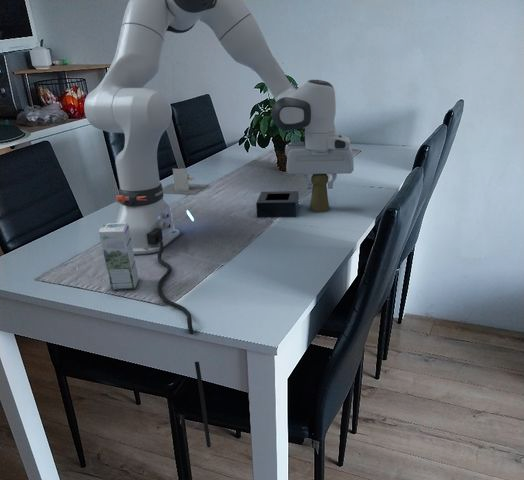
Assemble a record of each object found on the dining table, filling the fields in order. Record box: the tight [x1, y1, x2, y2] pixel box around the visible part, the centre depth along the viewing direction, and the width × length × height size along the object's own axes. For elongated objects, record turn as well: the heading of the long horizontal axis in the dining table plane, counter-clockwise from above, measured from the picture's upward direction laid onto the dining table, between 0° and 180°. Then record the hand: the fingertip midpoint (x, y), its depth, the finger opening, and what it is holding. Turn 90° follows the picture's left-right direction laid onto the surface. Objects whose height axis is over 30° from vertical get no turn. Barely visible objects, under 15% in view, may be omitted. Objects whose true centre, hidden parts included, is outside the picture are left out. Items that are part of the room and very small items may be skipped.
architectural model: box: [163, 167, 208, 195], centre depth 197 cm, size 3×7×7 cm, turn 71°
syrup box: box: [98, 222, 139, 291], centre depth 125 cm, size 6×6×14 cm
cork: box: [309, 174, 330, 213], centre depth 167 cm, size 6×6×11 cm
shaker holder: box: [255, 190, 300, 218], centre depth 170 cm, size 12×12×4 cm
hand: (319, 188), depth 167 cm, fingers open, 5 cm apart
